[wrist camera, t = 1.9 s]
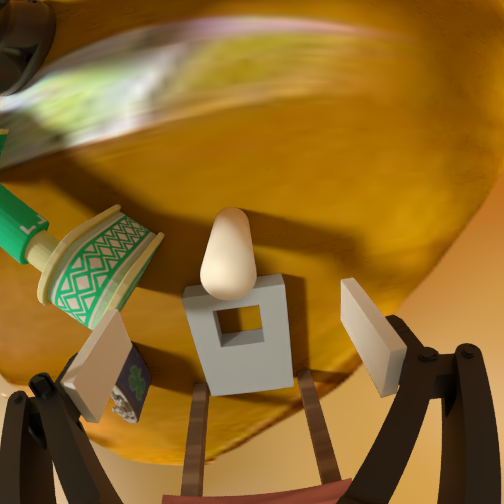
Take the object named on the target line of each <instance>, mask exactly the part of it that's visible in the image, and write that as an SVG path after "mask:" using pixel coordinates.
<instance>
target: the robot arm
mask: <svg viewBox="0 0 504 504" xmlns="http://www.w3.org/2000/svg"><path fill="white" fill-rule="evenodd" d="M55 28H56V18H55V14H54V11H53V9H52V8H51V7H50V6H49V5H47V4H45V3H43V2H42V1H39V0H0V96H7V95H10V94H12V93H14V92H16V91H17V90H19V89H20V88H21V87H23V86H24V85H25V84H26V83H27V82H28V81H29V80H30V79H31V78H32V76H33V75H34V74H35V73H36V71H37V70H38V69H39V67H40V66H41V64H42V62H43V61H44V59H45V57H46V55H47V53H48V51H49V49H50V46H51V44H52V41H53V37H54V33H55ZM341 321H342V323H343V325H344V327H345V329H346V331H347V333H348V334H349V336H350V338H351V340H352V342H353V344H354V346H355V348H356V349H357V351H358V353H359V355H360V357H361V359H362V361H363V363H364V365H365V367H366V369H367V371H368V372H369V375H370V376H371V378H372V380H373V382H374V384H375V386H376V388H377V390H378V392H379V394H380V396H381V397H386V396H389V395H392V394H396V393H397V394H396V397H395V399H394V401H393V404H392V406H391V408H390V411H389V413H388V415H387V417H386V419H385V421H384V423H383V425H382V428H381V430H380V432H379V434H378V436H377V438H376V440H375V442H374V444H373V446H372V448H371V449H370V452H369V453H368V455H367V457H366V459H365V461H364V462H363V464H362V466H361V467H360V469H359V471H358V473H357V474H356V476H355V478H354V480H353V481H352V483H351V484H350V486H349V487H348V489H347V490H346V492H345V493H344V494H343V495H342V496H341V497H340V499H339V500H338V501H337V503H336V504H388V503H389V500H390V499H391V497H392V495H393V493H394V491H395V489H396V486H397V485H398V483H399V480H400V478H401V476H402V474H403V471H404V469H405V467H406V465H407V462H408V460H409V457H410V455H411V453H412V450H413V447H414V445H415V442H416V440H417V437H418V434H419V431H420V428H421V426H422V423H423V420H424V417H425V413H426V410H427V407H428V404H429V400H430V399H437V398H441V402H442V403H441V404H442V455H441V472H440V484H439V493H438V501H437V504H501V467H500V452H499V442H498V433H497V425H496V418H495V412H494V406H493V400H492V395H491V390H490V386H489V381H488V376H487V373H486V368H485V364H484V360H483V357H482V353H481V351H480V349H479V348H478V347H477V346H475V345H473V344H469V343H465V344H461V345H459V346H458V347H457V348H456V351H455V353H454V354H439V353H438V351H436V350H435V349H433V348H430V347H424V346H423V345H422V343H421V342H420V341H419V340H418V339H417V337H416V336H415V335H414V333H413V332H412V331H411V330H410V329H409V327H408V326H407V325H406V324H405V323H404V321H403V320H402V319H401V318H399V317H397V316H395V315H390V316H386V317H384V316H383V314H382V313H381V312H380V310H379V309H378V308H377V306H376V305H375V304H374V303H373V301H372V300H371V299H370V298H369V296H368V295H367V294H366V292H365V291H364V290H363V289H362V287H361V286H360V285H359V284H358V282H357V281H356V280H355V279H354V278H348V279H342V280H341ZM131 348H132V343H131V341H130V339H129V336H128V334H127V331H126V328H125V326H124V323H123V321H122V318H121V315H120V313H119V310H118V309H113V310H107V312H106V313H105V315H104V316H103V317H102V319H101V320H100V322H99V323H98V325H97V326H96V328H95V329H94V330H93V332H92V333H91V335H90V336H89V338H88V339H87V341H86V342H85V344H84V345H83V347H82V348H81V350H80V351H79V353H76V354H75V355H74V356H72V357H71V358H70V359H69V361H68V363H67V364H66V366H65V367H64V369H63V371H62V372H61V373H60V375H59V377H58V378H57V380H56V381H55V383H54V382H53V381H52V379H51V378H50V376H49V374H47V373H39V374H37V375H35V376H33V377H32V378H31V380H30V381H29V385H28V386H29V387H30V389H31V390H32V392H33V393H34V395H35V396H36V397H28V396H27V394H26V393H25V392H24V391H17V392H14V393H13V394H12V395H11V396H10V397H9V399H8V402H7V407H6V413H5V418H4V424H3V431H2V437H1V446H0V504H57V503H56V496H55V487H54V477H53V464H52V463H54V466H55V469H56V472H57V474H58V478H59V480H60V483H61V485H62V488H63V491H64V493H65V496H66V498H67V500H68V503H69V504H123V502H122V501H121V499H120V497H119V496H118V494H117V492H116V491H115V489H114V487H113V486H112V484H111V482H110V481H109V479H108V477H107V475H106V473H105V471H104V469H103V468H102V466H101V464H100V462H99V460H98V458H97V456H96V454H95V452H94V450H93V448H92V445H91V444H90V441H89V439H88V437H87V435H86V432H85V430H84V428H83V425H82V423H81V422H80V421H79V418H80V415H82V416H83V418H84V419H85V420H86V422H92V423H99V421H100V419H101V417H102V414H103V412H104V409H105V407H106V404H107V402H108V400H109V397H110V395H111V393H112V390H113V388H114V386H115V383H116V381H117V379H118V376H119V374H120V372H121V370H122V367H123V365H124V363H125V361H126V359H127V356H128V354H129V352H130V350H131ZM398 385H399V386H400V387H399V389H398ZM397 389H398V392H397ZM52 460H53V461H52Z"/></svg>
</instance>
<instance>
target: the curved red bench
mask: <svg viewBox="0 0 504 504" xmlns="http://www.w3.org/2000/svg"><path fill="white" fill-rule="evenodd" d="M297 380H298V384H299V388H300V393H301V397H302V401H303V405H304V409H305V414H306V418H307V422H308V426H309V431H310V435H311V439H312V444H313V448H314V452H315V457H316V461H317V465H318V469H319V474H320V478H321V482H322V485H319V486H314V487H309V488H303V489H297V490H291V491H284V492H276V493H267V494H257V495H244V496H224V497H222V496H221V497H202V494H203V476H204V459H205V444H206V430H207V417H208V404H209V392H210V391H209V388H208V385H207V383H197V384H194V390H193V397H192V404H191V411H190V419H189V426H188V434H187V442H186V451H185V459H184V469H183V477H182V487H181V496H173V495H163V499H162V504H336V503H337V501H338V500H339V499H340V497H341V496H342V495H343V494H344V493H345V492H346V490H347V489H348V487H349V486H350V484H351V483H352V479H351V478H349V479H345V480H341V476H340V472H339V469H338V465H337V461H336V458H335V454H334V451H333V447H332V444H331V440H330V437H329V433H328V430H327V426H326V423H325V419H324V416H323V412H322V409H321V405H320V402H319V399H318V395H317V392H316V388H315V385H314V382H313V378H312V375H311V372H310V369H309V370H303V371H298V372H297Z"/></svg>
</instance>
